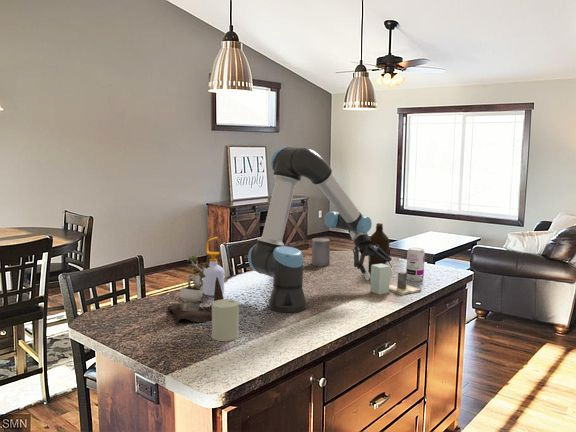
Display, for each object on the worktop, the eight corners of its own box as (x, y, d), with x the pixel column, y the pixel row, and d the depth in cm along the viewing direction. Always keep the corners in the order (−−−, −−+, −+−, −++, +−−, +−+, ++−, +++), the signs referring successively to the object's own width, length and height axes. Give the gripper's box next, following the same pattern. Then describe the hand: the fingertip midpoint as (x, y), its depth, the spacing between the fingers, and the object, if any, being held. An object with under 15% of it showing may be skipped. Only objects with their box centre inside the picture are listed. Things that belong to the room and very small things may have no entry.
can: (244, 336, 176) (244, 301, 174) (224, 343, 169) (223, 307, 168) (226, 329, 182) (226, 296, 181) (205, 336, 175) (205, 301, 174)
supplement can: (421, 277, 257) (423, 247, 255) (424, 281, 249) (426, 251, 247) (405, 276, 258) (406, 247, 256) (407, 281, 250) (408, 250, 248)
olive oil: (389, 270, 271) (391, 222, 267) (386, 275, 261) (388, 225, 257) (369, 268, 274) (371, 221, 271) (365, 273, 264) (367, 224, 261)
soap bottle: (222, 296, 221) (222, 239, 217) (201, 295, 221) (200, 239, 218) (225, 290, 230) (225, 235, 226) (205, 290, 230) (204, 235, 226)
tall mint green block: (378, 294, 227) (379, 267, 225) (370, 291, 232) (371, 264, 230) (388, 292, 230) (390, 266, 228) (380, 289, 235) (381, 263, 233)
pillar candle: (320, 261, 289) (321, 234, 287) (333, 264, 282) (333, 237, 280) (307, 263, 283) (308, 236, 281) (320, 267, 276) (320, 239, 274)
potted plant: (163, 316, 202) (176, 253, 205) (209, 322, 210) (221, 261, 213) (176, 324, 184) (189, 254, 187) (225, 330, 192) (238, 263, 195)
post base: (400, 295, 226) (401, 277, 225) (382, 288, 237) (383, 271, 236) (421, 291, 233) (422, 274, 231) (402, 285, 243) (403, 268, 242)
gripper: (377, 240, 250) (397, 278, 240) (335, 245, 238) (354, 285, 227) (385, 231, 245) (406, 269, 235) (342, 235, 232) (362, 276, 222)
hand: (380, 277), depth 231 cm, fingers open, 13 cm apart
